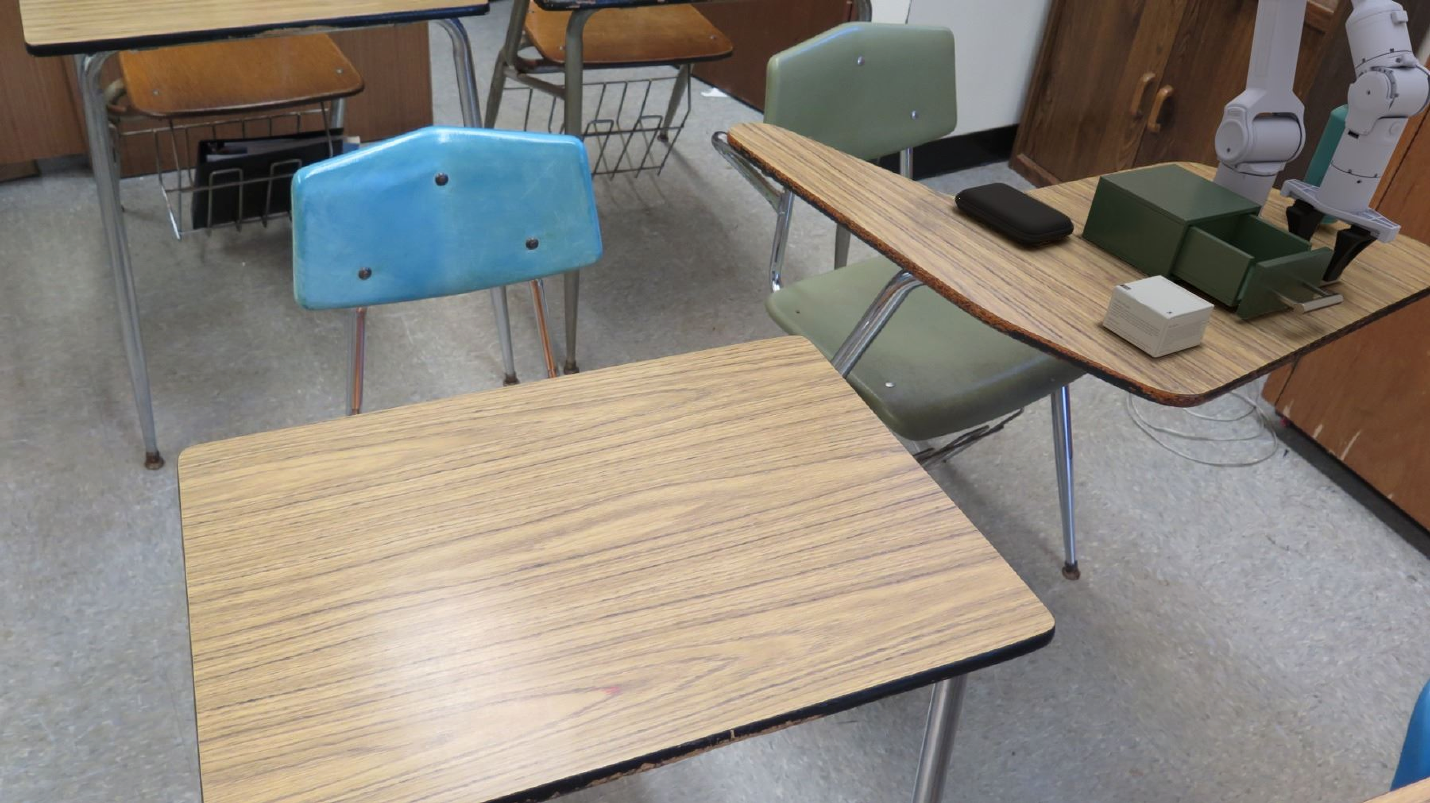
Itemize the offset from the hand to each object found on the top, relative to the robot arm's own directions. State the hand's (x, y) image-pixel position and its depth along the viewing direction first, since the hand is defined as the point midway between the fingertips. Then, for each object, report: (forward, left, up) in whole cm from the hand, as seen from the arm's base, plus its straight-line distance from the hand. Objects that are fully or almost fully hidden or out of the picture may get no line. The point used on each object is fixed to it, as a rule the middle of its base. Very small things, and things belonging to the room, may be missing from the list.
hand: (1310, 270), depth 135 cm
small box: (+28, -14, -2) cm, 31 cm away
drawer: (+11, -6, -1) cm, 13 cm away
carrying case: (+9, -36, -2) cm, 37 cm away
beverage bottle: (-21, -2, -2) cm, 21 cm away
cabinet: (+4, -18, -1) cm, 18 cm away
